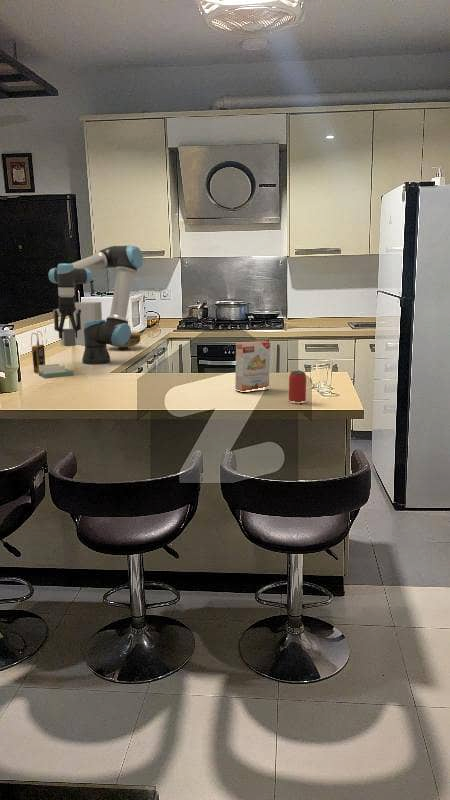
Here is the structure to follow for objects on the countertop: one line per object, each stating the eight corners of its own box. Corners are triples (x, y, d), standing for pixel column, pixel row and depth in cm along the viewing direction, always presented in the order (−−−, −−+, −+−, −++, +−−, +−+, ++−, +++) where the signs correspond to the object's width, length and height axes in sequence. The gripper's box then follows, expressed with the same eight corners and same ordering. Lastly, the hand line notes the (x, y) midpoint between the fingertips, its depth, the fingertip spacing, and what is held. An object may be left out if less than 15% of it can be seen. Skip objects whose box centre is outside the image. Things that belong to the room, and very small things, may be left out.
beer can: (287, 400, 243) (287, 370, 241) (303, 400, 244) (304, 370, 241) (290, 404, 237) (291, 373, 234) (307, 404, 237) (308, 373, 235)
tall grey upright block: (80, 347, 401) (78, 303, 395) (73, 344, 414) (71, 302, 408) (108, 345, 411) (106, 302, 405) (100, 342, 423) (99, 301, 417)
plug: (71, 344, 303) (71, 328, 302) (75, 345, 299) (74, 329, 298) (61, 345, 300) (61, 328, 299) (65, 346, 296) (64, 329, 295)
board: (66, 372, 307) (66, 362, 306) (73, 375, 300) (72, 365, 298) (39, 375, 299) (38, 365, 298) (44, 378, 292) (44, 367, 291)
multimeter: (48, 374, 303) (46, 333, 298) (30, 373, 305) (27, 333, 300) (62, 369, 317) (59, 330, 313) (44, 368, 319) (41, 330, 314)
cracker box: (242, 393, 256) (242, 343, 252) (234, 391, 261) (235, 342, 257) (270, 390, 264) (270, 341, 259) (261, 388, 269) (262, 340, 264)
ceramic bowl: (151, 350, 387) (151, 334, 384) (117, 353, 373) (116, 337, 370) (128, 345, 410) (128, 330, 408) (95, 348, 396) (95, 332, 394)
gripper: (81, 296, 303) (83, 343, 308) (45, 296, 293) (47, 345, 297) (87, 296, 297) (89, 344, 302) (50, 297, 287) (53, 346, 291)
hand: (68, 344), depth 300 cm, fingers closed on plug, 5 cm apart
